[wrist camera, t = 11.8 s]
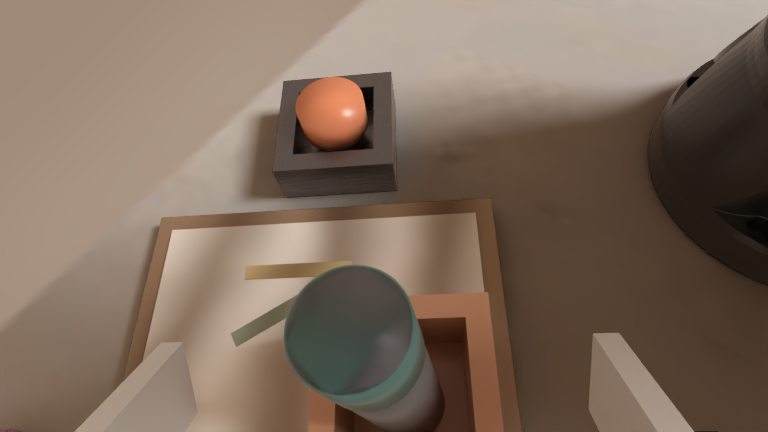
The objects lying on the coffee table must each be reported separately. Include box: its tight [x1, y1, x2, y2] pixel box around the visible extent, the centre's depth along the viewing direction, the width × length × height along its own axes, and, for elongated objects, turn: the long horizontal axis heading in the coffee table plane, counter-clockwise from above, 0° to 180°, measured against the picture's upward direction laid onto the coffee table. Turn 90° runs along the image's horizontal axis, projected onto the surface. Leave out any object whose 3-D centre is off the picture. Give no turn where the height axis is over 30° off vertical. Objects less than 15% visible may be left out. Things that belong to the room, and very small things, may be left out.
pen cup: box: [308, 292, 504, 432], centre depth 20 cm, size 7×7×5 cm
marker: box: [284, 265, 445, 432], centre depth 17 cm, size 3×3×12 cm
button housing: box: [272, 72, 397, 198], centre depth 30 cm, size 7×7×3 cm
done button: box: [295, 77, 368, 151], centre depth 28 cm, size 4×4×2 cm
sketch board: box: [122, 198, 522, 432], centre depth 25 cm, size 20×16×1 cm
